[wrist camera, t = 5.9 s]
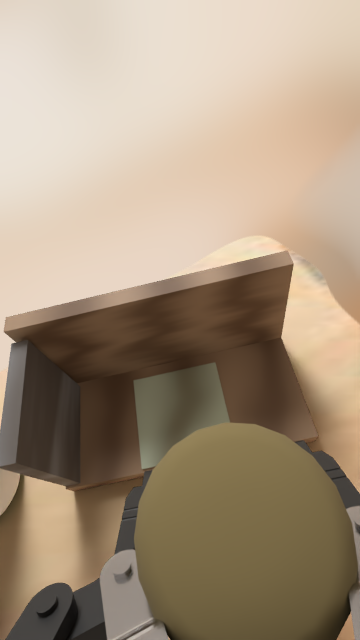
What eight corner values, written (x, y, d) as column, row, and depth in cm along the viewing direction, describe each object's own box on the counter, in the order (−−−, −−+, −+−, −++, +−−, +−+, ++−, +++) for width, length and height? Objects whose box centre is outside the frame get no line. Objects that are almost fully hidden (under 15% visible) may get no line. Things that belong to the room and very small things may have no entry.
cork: (324, 613, 14) (475, 756, 5) (181, 620, 15) (83, 759, 6) (290, 459, 18) (344, 376, 8) (174, 470, 18) (105, 402, 9)
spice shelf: (73, 490, 28) (-17, 468, 18) (74, 379, 34) (5, 317, 24) (315, 440, 27) (352, 389, 17) (275, 334, 33) (287, 250, 23)
